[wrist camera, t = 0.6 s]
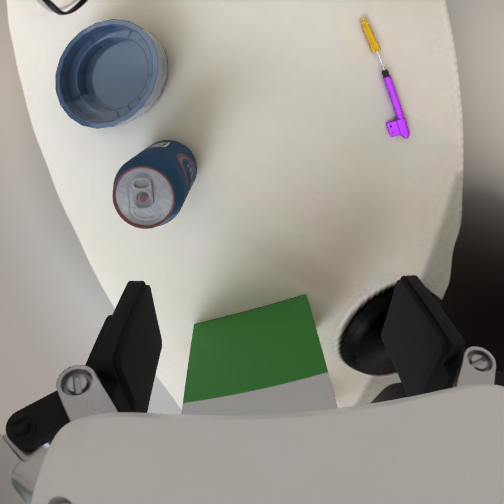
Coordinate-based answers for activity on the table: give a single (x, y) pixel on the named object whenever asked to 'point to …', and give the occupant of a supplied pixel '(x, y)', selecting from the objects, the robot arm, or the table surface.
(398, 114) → the purple yellow rod
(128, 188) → the soda can
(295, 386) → the hardback book
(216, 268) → the table surface
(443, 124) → the table surface
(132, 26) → the bowl
